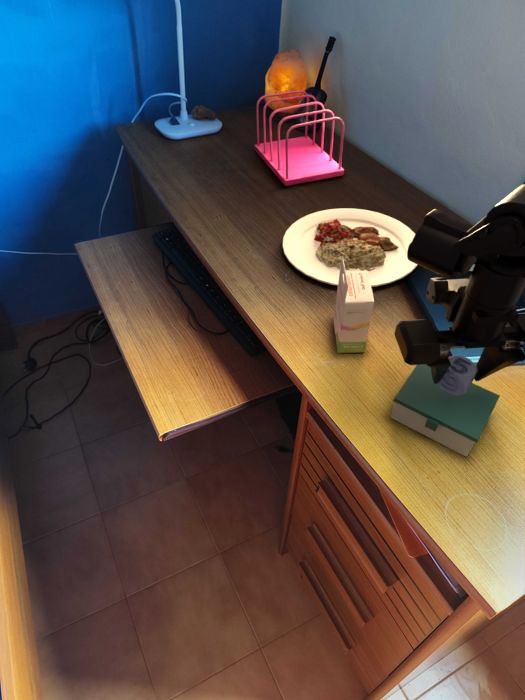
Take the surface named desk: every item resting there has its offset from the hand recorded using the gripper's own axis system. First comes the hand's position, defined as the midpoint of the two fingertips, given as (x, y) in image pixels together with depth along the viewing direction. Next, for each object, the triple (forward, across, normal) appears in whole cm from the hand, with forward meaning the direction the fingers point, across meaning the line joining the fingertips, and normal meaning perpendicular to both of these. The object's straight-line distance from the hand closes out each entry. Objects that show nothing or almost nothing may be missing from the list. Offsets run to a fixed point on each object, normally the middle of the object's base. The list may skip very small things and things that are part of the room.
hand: (455, 380), depth 65 cm
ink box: (+9, +11, -19) cm, 23 cm away
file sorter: (+9, +12, -90) cm, 91 cm away
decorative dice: (+1, 0, 0) cm, 1 cm away
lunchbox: (+9, 0, 0) cm, 9 cm away
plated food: (+9, +5, -46) cm, 47 cm away
